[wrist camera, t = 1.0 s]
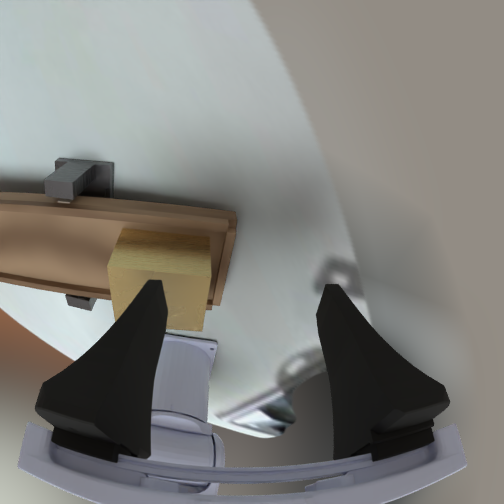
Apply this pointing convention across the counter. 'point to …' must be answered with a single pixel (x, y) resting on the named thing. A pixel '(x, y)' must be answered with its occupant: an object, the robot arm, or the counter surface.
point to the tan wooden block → (163, 273)
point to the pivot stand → (80, 194)
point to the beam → (96, 239)
